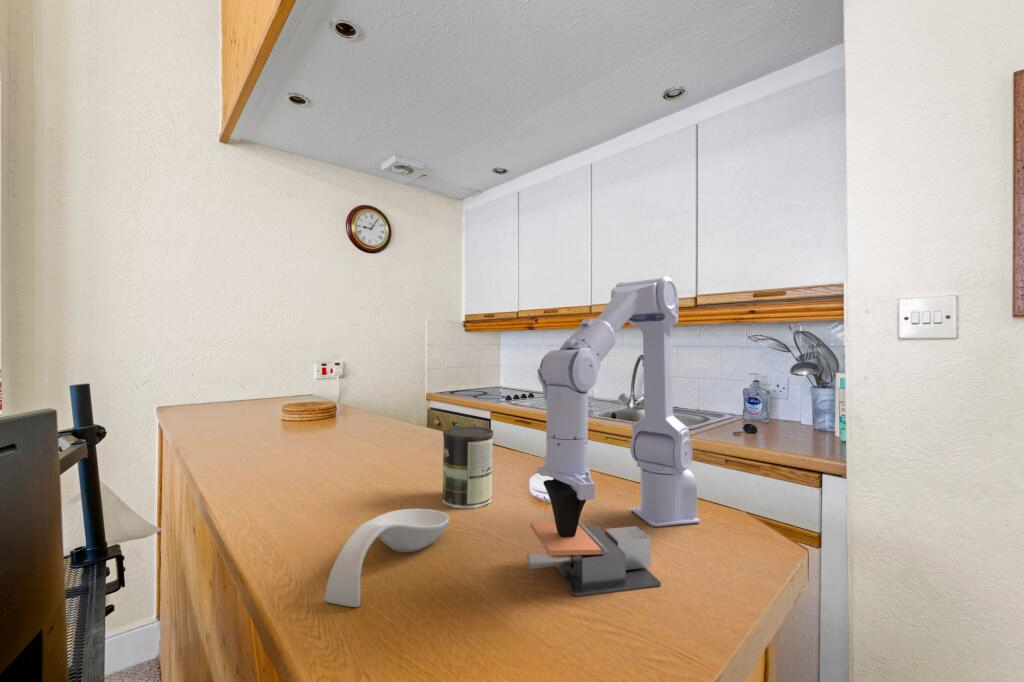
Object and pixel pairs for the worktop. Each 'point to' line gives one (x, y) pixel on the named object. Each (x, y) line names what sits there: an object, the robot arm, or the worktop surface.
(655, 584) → the hitch block
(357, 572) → the spoon rest
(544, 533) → the plate
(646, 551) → the hitch pin
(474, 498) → the coffee can
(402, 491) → the worktop surface
